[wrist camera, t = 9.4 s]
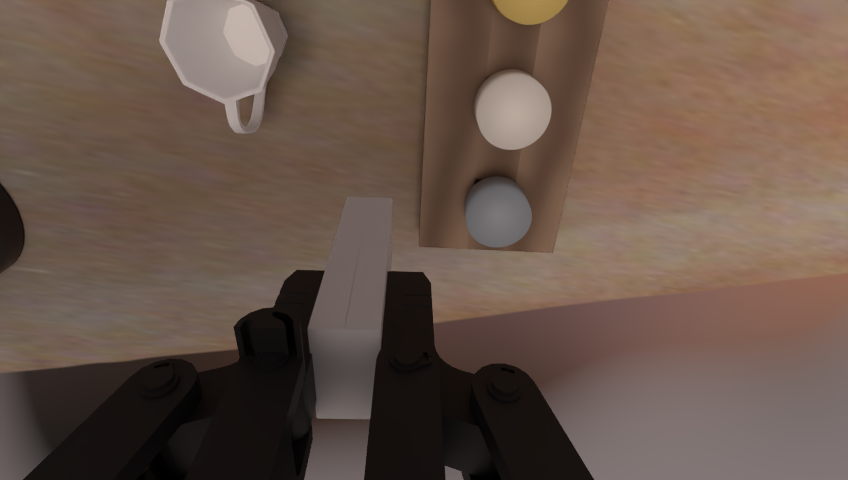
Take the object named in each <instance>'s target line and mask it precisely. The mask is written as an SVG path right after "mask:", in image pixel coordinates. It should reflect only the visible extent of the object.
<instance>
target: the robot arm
mask: <svg viewBox="0 0 848 480" xmlns="http://www.w3.org/2000/svg"><path fill="white" fill-rule="evenodd" d="M392 205H393V198H375V197H347V199H346V202H345V206H344V209H343V212H342V215H341V219H340V222H339V225H338V229H337V232H336V235H335V239H334V242H333V245H332V249H331V252H330V255H329V259H328V262H327V265H326V269H325V271H315V270H296V271H295V272H294V273H293V274H292V275H290V276H289V277H288V278H287V279H286V280H285V281H284V283H283V286H282V288H281V290H280V294H279V295H278V297H277V300H276V302H275V305H274V307H273V308H263V309H260V310H257V311H254V312H251V313H249V314H247V315H246V316H244V317H243V318H241V319H240V320H239V321H238V322H237V324H236V325H235V326H234V331H235V336H236V341H237V346H238V351H239V355H240V358H239V361H238V362H236V363H233V364H231V365H228V366H225V367H221V368H217V369H212V370H208V371H203V372H198V373H197V370H196V369H195V367H194V366H193V364H192V363H190V362H187V361H185V360H183V359H167V360H162V361H157V362H154V363H152V364H150V365H148V366H145V367H143V368H141V369H140V370H139V371H137V372H136V373H135V374H133V375H132V376H131V377H130V378H129V379H127V380H126V382H124V383H123V384H122V385H121V386H120V387H119V388H118V389H117V390H116V391H115V392H114V393H113V394H112V395H111V396H110V397H109V398H108V399H107V400H106V401H105V402H104V403H102V404H101V405H100V406H99V407H98V408H97V409H96V410H95V411H94V412H93V413H92V414H91V415H90V416H89V417H88V418H87V419H86V420H85V421H84V422H83V423H82V424H81V425H80V426H78V427H77V428H76V430H74V431H73V432H72V433H71V434H70V435H69V436H68V437H67V438H66V439H65V440H64V441H63V442H62V443H61V444H60V445H59V446H58V447H57V448H56V449H54V451H52V452H51V454H49V455H48V456H47V457H46V458H45V459H44V460H43V461H42V462H41V463H40V464H39V465H38V466H37V467H36V468H35V469H34V470H33V471H32V472H31V473H29V475H27V476H26V477H25V478H24V479H23V480H304V477H305V472H306V467H307V463H308V458H309V453H310V449H311V444H312V440H313V437H312V423H311V422H312V418H313V413H314V409H315V407H316V417H317V418H329V419H335V418H336V419H370V426H369V436H368V446H367V456H366V466H365V477H364V480H445V466H448V467H451V468H454V469H457V470H460V471H462V476H463V479H464V480H594V479H593V477H592V476H591V474H590V472H589V471H588V469H587V468H586V466H585V464H584V463H583V461H582V459H581V458H580V456H579V454H578V453H577V451H576V450H575V448H574V446H573V445H572V443H571V441H570V440H569V438H568V436H567V435H566V433H565V432H564V430H563V428H562V426H561V425H560V424H559V422H558V420H557V418H556V417H555V415H554V413H553V412H552V410H551V408H550V407H549V405H548V404H547V402H546V400H545V399H544V397H543V395H542V394H541V392H540V390H539V389H538V387H537V386H536V384H535V382H534V381H533V380H532V379H531V378H530V377H529V375H528V374H526V373H525V372H524V371H522V370H520V369H519V368H517V367H514V366H511V365H507V364H490V365H487V366H484V367H482V368H481V369H480V370H478V371H477V372H476V373H475V374H472V373H469V372H465V371H461V370H458V369H456V368H454V367H452V366H450V365H449V364H447V363H445V362H444V361H443V360H442V359H441V358H440V357H439V355H438V353H437V352H436V349H435V345H434V330H433V312H432V298H431V283H430V281H429V280H428V279H427V277H426V276H425V275H424V273H423V272H397V271H391V268H392ZM22 246H23V228H22V224H21V220H20V217H19V215H18V212H17V210H16V208H15V206H14V205H13V203H12V201H11V199H10V198H9V196H8V195H7V194H6V192H5V191H4V190H3V188H2V187H1V186H0V273H1V272H3V271H4V270H5V269H7V268H8V267H10V266H11V265H12V264H13V263H14V262H15V261H16V260H17V258H18V257H19V255H20V253H21V250H22Z"/></svg>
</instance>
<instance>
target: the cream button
mask: <svg viewBox="0 0 848 480" xmlns="http://www.w3.org/2000/svg"><path fill="white" fill-rule="evenodd" d="M474 112H475V117H476V120H477V123H478V126H479V129H480V131H481V133H482V135H483V136H484V138H485V139H486V140H487V141H488V142H489V143H491V144H492V145H494V146H496V147H498V148H501V149H506V150H516V149H521V148H524V147H527V146H529V145H531V144H532V143H534V142H535V141H536V140H537V139H539V138H540V137H541V135H542V134H543V133H544V131H545V130H546V128H547V126H548V124H549V121H550V118H551V101H550V97H549V95H548V93H547V91H546V90H545V88H544V87H543V86H542V85H541V84H540V83H539V82H538V81H537V80H536V79H535V78H534V77H532V76H531V75H530V74H528V73H526V72H524V71H521V70H517V69H507V70H502V71H499V72H497V73H495V74H493V75H491V76H490V77H489V78H488V79H486V80H485V81H484V83H483V84H482V85H481V87H480V88H479V90H478V92H477V94H476V98H475V102H474Z"/></svg>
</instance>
